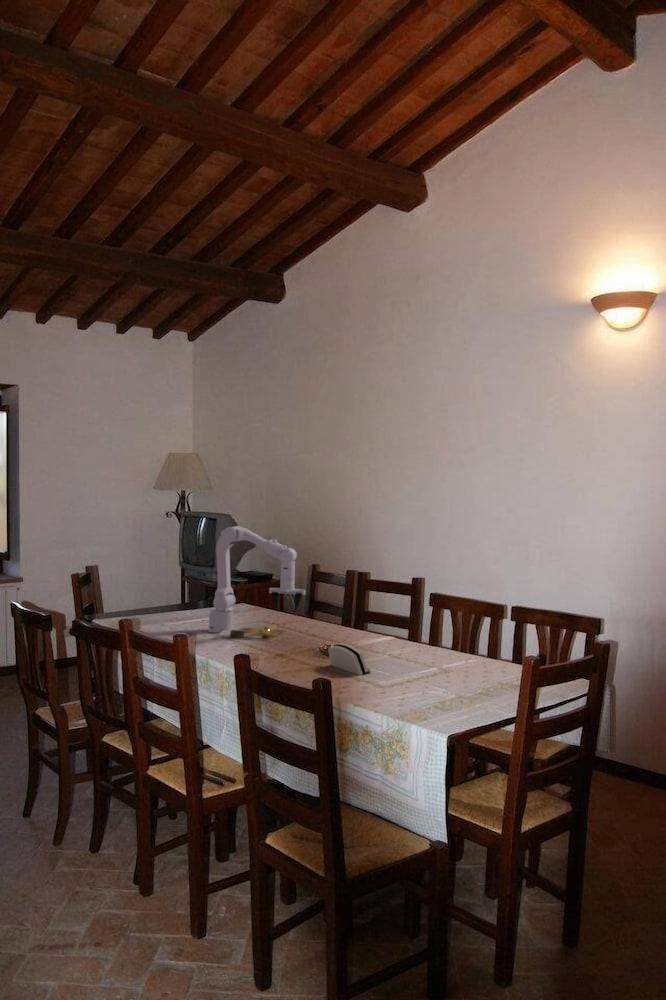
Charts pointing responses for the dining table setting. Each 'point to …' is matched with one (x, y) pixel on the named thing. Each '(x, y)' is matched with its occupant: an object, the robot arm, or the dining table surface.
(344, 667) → the grey half-round piece
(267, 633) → the swing bar
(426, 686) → the dining table surface
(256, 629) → the door board
